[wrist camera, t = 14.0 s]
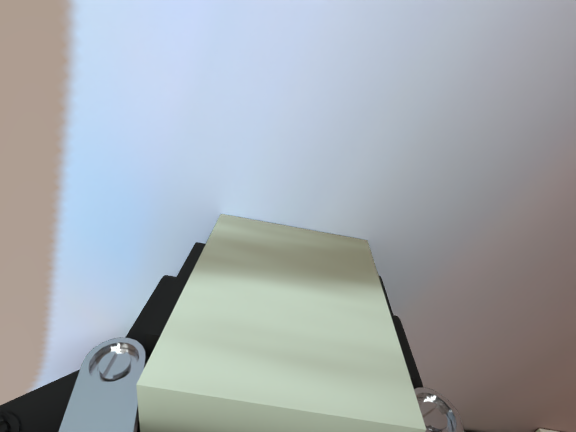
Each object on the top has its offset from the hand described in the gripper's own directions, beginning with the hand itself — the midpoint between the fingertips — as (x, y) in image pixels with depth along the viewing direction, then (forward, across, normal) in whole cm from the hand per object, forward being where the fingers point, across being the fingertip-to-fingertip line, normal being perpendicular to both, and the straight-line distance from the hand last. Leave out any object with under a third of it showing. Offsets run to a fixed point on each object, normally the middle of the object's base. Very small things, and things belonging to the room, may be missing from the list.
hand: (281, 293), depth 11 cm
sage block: (+1, 0, 0) cm, 1 cm away
